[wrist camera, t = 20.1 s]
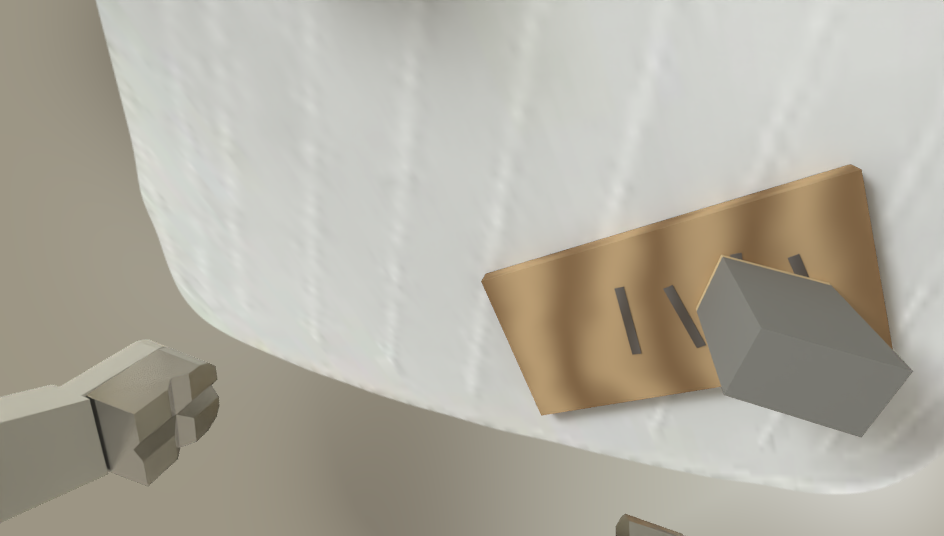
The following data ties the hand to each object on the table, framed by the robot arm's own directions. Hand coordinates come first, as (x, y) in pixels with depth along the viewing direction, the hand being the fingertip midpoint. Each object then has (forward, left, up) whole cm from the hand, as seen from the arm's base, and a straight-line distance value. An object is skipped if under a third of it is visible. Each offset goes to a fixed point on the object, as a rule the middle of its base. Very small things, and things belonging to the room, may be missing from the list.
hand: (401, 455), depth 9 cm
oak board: (-4, +14, -29) cm, 33 cm away
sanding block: (-10, +14, -28) cm, 32 cm away
